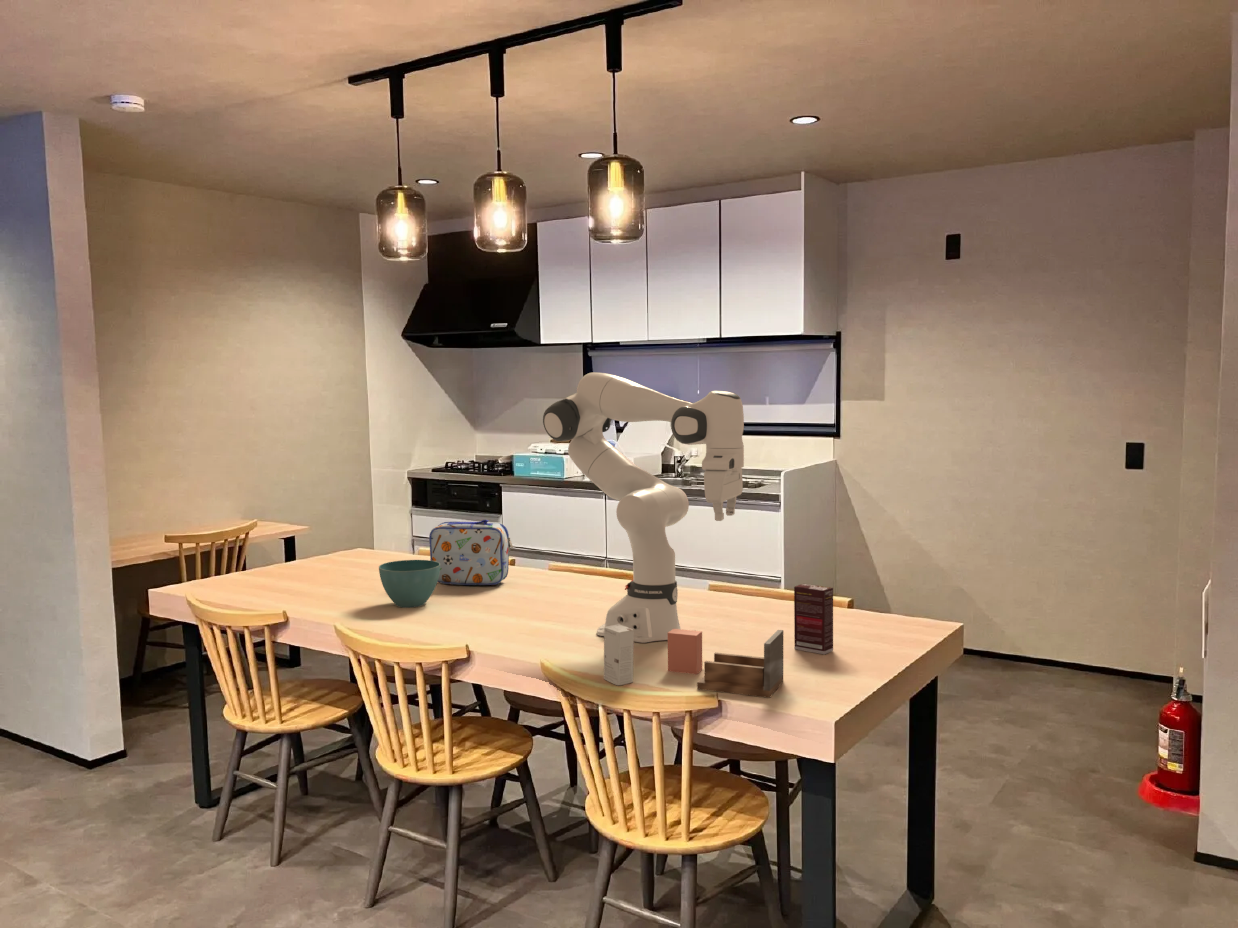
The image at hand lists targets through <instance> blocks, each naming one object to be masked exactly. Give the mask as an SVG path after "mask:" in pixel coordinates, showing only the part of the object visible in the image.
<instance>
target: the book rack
mask: <svg viewBox="0 0 1238 928" xmlns="http://www.w3.org/2000/svg"><path fill="white" fill-rule="evenodd" d="M713 656H714V657H713V660H714V661H711V660H705V661H704V665H703V667H704V668H703V671H704V675H703V676H702V677H701V678H700V679H699V680H698V681H697V682H696V689H697V690H701V691H710V692H711V691H712V692H719V693H729V694H736V695H743V696H744V695H745V696H752V697H761V698H767V699H768V698H769V699H770V698H771V697H772V696H773V695H774V693H775V692H776V691H777V690H778V689H779V687H780V686H781V685H782V684H783V683H784V630H783V629H777V630H776V631H775V632H774V633H773V634H772V635H771V636H770V637H769V638H768V639H767V640H766V641H765V642H764V643H763V657H761V656H752V655H743V654H735V653H722V652H714V653H713Z"/></svg>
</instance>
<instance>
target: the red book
mask: <svg viewBox="0 0 1238 928" xmlns="http://www.w3.org/2000/svg"><path fill="white" fill-rule="evenodd" d="M667 671H668V672H672V673H681V674H689V675H690V674H691V675H698V674H699V673H700V672H701V671H703V631H701V630H693V629H682V628H681V629H672V630H671V631H669V632H668V640H667Z"/></svg>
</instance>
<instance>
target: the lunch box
mask: <svg viewBox="0 0 1238 928" xmlns="http://www.w3.org/2000/svg"><path fill="white" fill-rule="evenodd" d="M489 521H490V520H488V519H483V520H480V521H444V522H441V523H440V524H438V525H437V526H435V527H433V528H432V529H431V530H430V532H429V537H428V542H429V543H428V544H429V557H430V558H429V559H430V561H436V562H439V563H440V573H439V578H438V581H437V583H440V584H444V585H457V586H490V585H491V586H493V585H499V584H500V583H501V582H502V581H504V580H505V579H507V577H508V574H509V563H510V562H509V559H510V556H509V553H510V552H511V549H512V548H513V547H514V546H513V542H512V540H511V537H510V534H509V531H508V529H507V527H506V526H505V525H504V524H502V523H499V522H489Z"/></svg>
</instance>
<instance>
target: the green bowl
mask: <svg viewBox="0 0 1238 928" xmlns="http://www.w3.org/2000/svg"><path fill="white" fill-rule="evenodd" d="M378 572H379V573H378V574H379V578H380V581H381V585H382V587H383V589H384V591H385V593H386V595H387V596H388V597H389V599H390V600H391V601H392V603H393V604H394V605H396V607H399V608H406V609H407V608H408V609H409V608H418V607H422V606H424V605H425V604H426V603H427V602H428V600H430V598H431V596H432V594H433V593H434V591H435V589H436V586H437V584H438V582H437V581H438V578H439V573H440V563H439V562H436V561H430V560H429V559H402V560H395V561H394V560H393V561H388V562H384V563H381V564H380V565H379V566H378Z"/></svg>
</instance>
